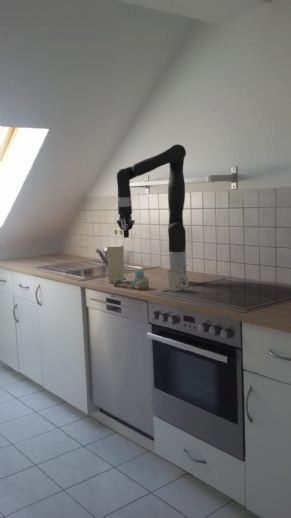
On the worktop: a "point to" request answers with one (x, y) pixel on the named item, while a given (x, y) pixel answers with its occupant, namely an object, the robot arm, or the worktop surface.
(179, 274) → the mug
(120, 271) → the toy refrigerator
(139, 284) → the track
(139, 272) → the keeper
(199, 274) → the worktop surface
